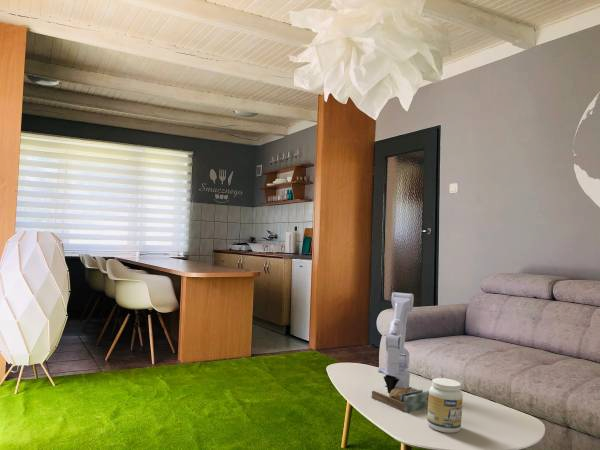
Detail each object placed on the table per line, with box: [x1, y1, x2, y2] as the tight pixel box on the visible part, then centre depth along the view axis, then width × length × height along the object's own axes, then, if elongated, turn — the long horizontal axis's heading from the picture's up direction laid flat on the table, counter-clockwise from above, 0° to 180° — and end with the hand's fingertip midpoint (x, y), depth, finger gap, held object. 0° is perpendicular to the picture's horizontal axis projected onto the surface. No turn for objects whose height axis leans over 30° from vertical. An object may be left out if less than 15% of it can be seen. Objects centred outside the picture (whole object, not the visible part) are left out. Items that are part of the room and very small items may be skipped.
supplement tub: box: [426, 377, 464, 434], centre depth 182 cm, size 12×12×17 cm
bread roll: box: [388, 387, 409, 401], centre depth 208 cm, size 10×10×8 cm
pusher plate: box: [400, 389, 424, 403], centre depth 204 cm, size 13×1×6 cm, turn 127°
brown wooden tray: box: [371, 386, 429, 413], centre depth 208 cm, size 16×19×6 cm
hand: (390, 393), depth 213 cm, fingers closed
